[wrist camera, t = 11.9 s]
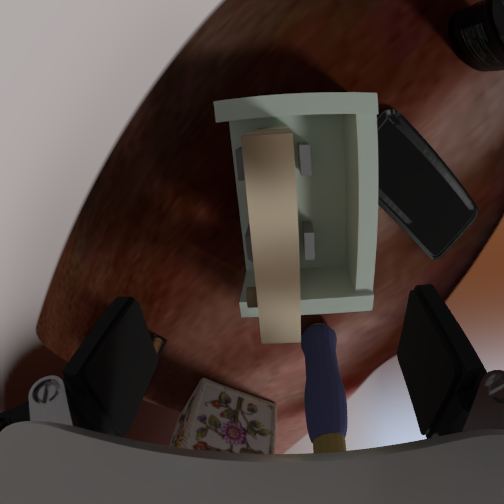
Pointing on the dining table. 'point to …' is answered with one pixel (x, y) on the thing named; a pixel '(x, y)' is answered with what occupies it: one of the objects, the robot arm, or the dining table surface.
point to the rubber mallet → (324, 390)
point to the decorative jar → (226, 421)
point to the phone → (420, 187)
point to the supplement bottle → (479, 35)
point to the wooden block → (273, 232)
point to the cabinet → (320, 191)
